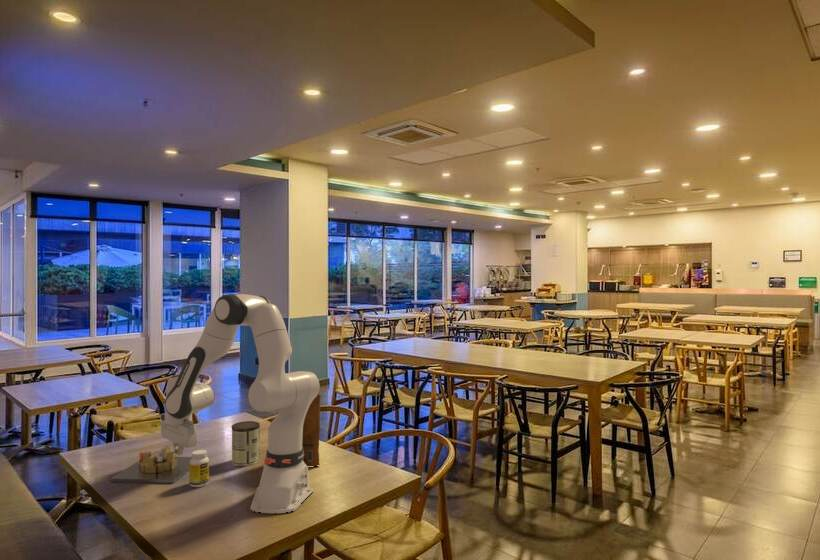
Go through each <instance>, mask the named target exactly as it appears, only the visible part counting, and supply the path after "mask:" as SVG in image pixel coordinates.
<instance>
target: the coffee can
mask: <svg viewBox="0 0 820 560" xmlns="http://www.w3.org/2000/svg"><path fill="white" fill-rule="evenodd" d="M260 425H261V423H260V422H258V421H254V420H252V421H251V420H250V421H249V420H246V421H240V422H236V423H234V424H232V425H231V464H232V465H233V466H237V467H246V466H247V465H248V466H253V465H255V464H257V463H259V462H258V461H260V459H261V458H260ZM252 464H253V465H252ZM248 466H247V467H248Z"/></svg>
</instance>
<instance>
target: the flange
mask: <svg viewBox="0 0 820 560" xmlns="http://www.w3.org/2000/svg"><path fill="white" fill-rule="evenodd" d="M143 453H144V451H143V452H142V451H141V452H139V454H138V456H139V457H138V458H139V459H138V461H136V462H135V463H133V464H132V465H130V466H128V467H126V468H125V469H123V470H121V471H120V472H119V473H117V474H115V475H114V476H112V477H111V478H110V483H127V482H130V483H132V484H133V483H134V484H136V483H137V484H139V483H140V484H172V485H173V484H175V483H176V482H178V480H180V479H181V478H182V477H183V476H184V475H186V474H187V473H189V469H190V460H191V459H192V458H193V457H192V456H176V457H177V466H176V467H174V468H173V469H170V470H169V471H165V472H160V473H158V472H157V473H145V472H144V473H143V472H142V471H141V470H140V462H141V461H142V460H143ZM151 456H157V464H158V463H163V462H166V452H165V451H161V450H157V451H156V450H155V451H153V452H151Z"/></svg>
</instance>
